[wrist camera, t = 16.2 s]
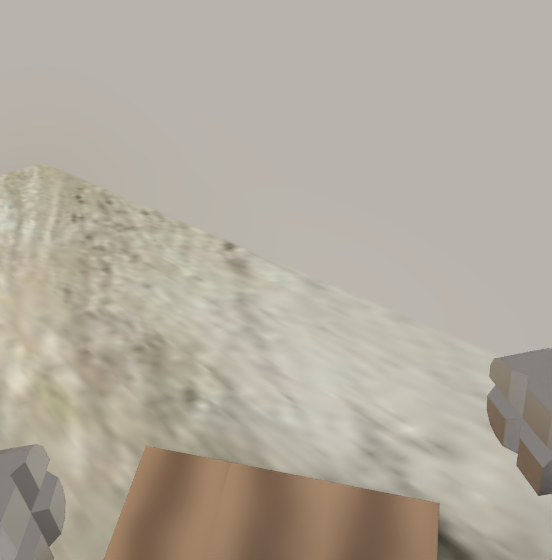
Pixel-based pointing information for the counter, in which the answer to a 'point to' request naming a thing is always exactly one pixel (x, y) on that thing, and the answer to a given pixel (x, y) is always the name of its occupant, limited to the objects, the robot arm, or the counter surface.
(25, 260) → the counter surface
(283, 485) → the socket board
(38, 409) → the counter surface
